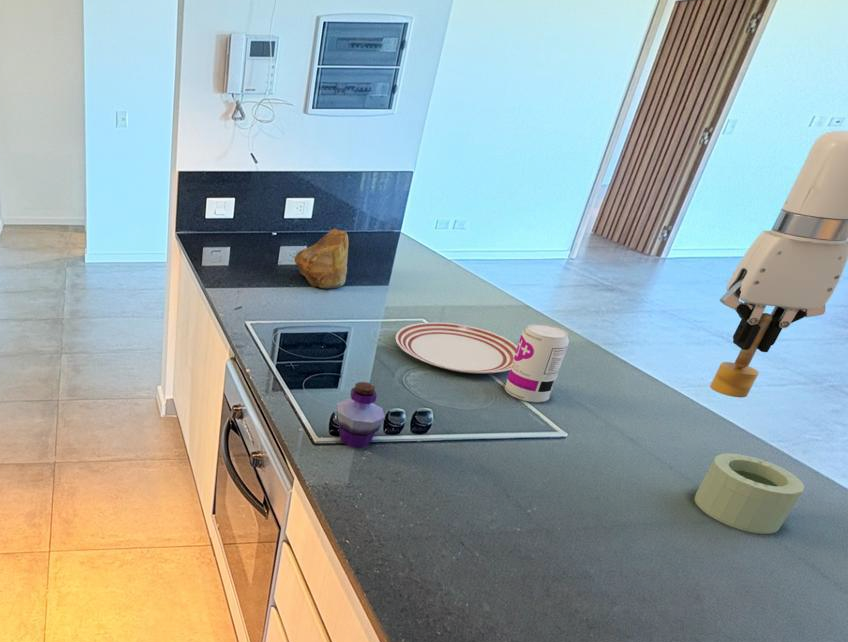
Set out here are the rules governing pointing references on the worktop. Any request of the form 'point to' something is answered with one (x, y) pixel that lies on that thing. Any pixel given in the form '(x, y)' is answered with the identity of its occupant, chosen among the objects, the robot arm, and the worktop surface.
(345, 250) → the rough brown rock
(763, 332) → the peg with round base
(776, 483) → the pale green hollow cylinder
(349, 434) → the potion bottle
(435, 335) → the dinner plate
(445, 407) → the worktop surface
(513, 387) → the supplement can
